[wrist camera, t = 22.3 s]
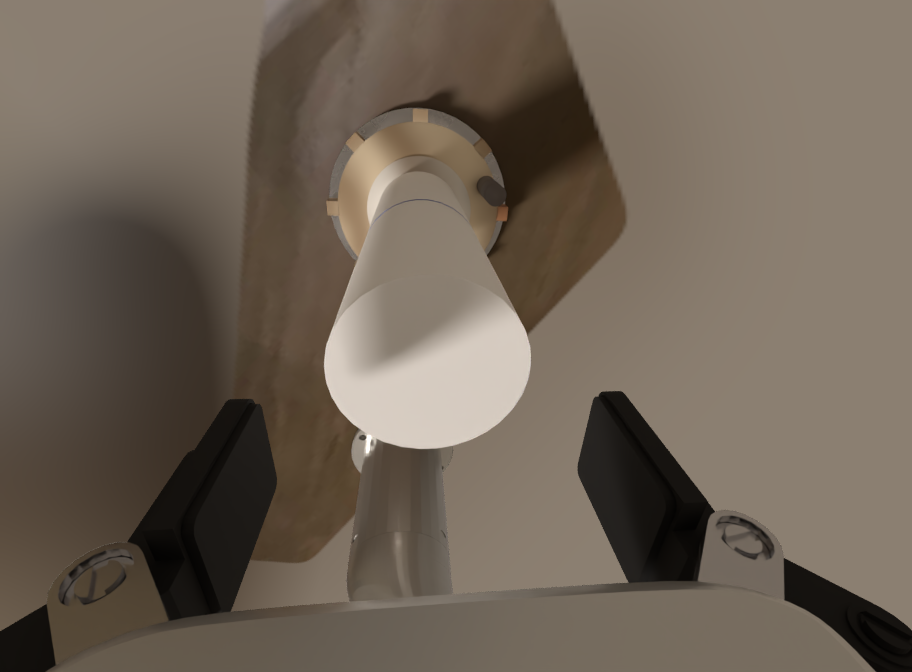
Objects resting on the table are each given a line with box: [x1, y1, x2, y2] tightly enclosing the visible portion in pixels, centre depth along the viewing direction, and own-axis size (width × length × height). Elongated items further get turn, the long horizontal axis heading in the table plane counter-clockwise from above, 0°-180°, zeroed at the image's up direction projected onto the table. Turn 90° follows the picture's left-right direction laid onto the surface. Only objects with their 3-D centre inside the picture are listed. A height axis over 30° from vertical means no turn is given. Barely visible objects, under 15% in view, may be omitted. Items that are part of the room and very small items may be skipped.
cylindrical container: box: [324, 171, 531, 449], centre depth 25 cm, size 7×7×25 cm
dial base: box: [329, 108, 505, 261], centre depth 38 cm, size 16×16×1 cm
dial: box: [327, 109, 508, 267], centre depth 35 cm, size 15×15×6 cm
